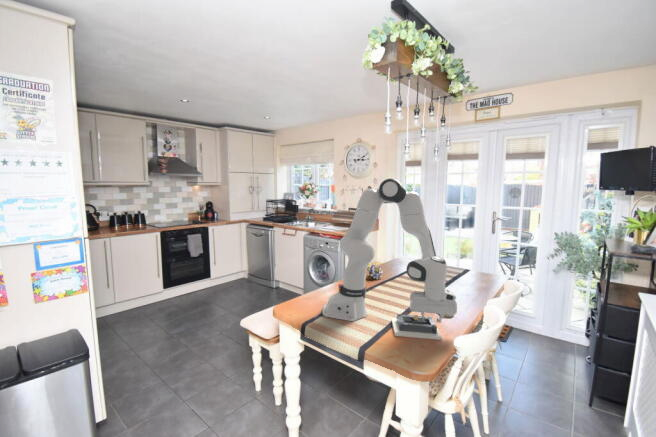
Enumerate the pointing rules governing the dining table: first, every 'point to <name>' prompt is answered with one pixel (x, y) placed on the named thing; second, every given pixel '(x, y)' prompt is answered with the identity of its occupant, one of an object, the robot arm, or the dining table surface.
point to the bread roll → (447, 315)
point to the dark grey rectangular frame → (423, 326)
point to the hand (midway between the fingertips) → (431, 321)
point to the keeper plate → (414, 334)
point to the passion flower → (375, 271)
